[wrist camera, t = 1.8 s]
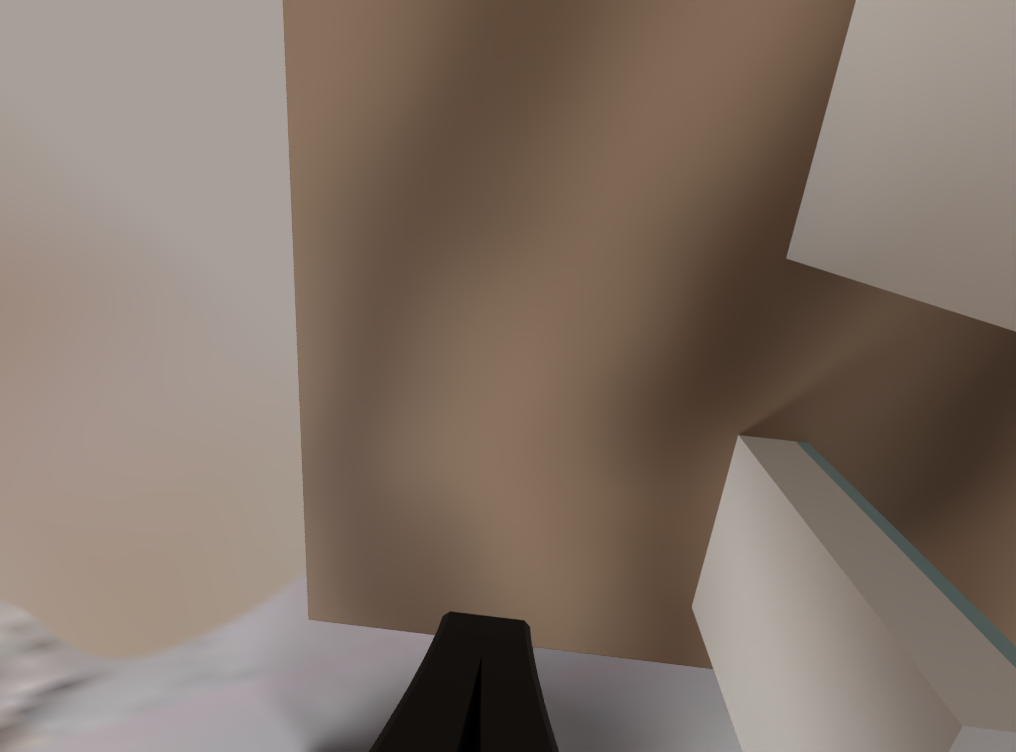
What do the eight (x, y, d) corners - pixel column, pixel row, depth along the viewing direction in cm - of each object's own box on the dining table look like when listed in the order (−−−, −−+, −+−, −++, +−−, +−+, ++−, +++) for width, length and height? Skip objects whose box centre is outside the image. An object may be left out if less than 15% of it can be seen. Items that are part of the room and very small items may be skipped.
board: (1430, -97, 9) (1549, -134, 8) (1004, 670, 16) (1040, 709, 14) (303, -194, 10) (272, -242, 9) (324, 588, 16) (309, 619, 15)
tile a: (808, 443, 12) (1115, 745, 6) (753, 614, 14) (939, 996, 7) (738, 435, 12) (962, 726, 6) (691, 606, 14) (823, 982, 7)
